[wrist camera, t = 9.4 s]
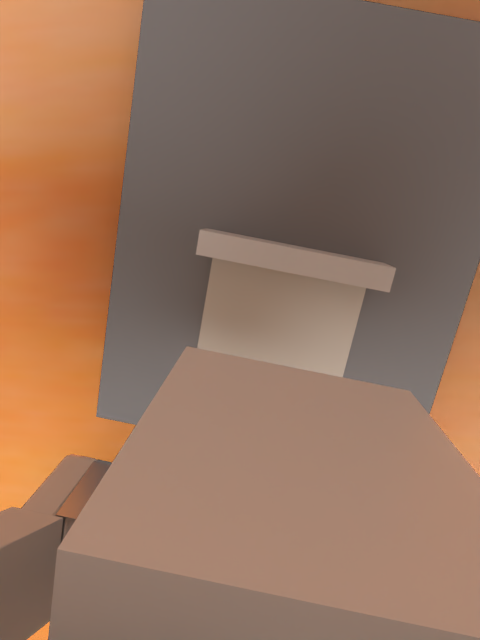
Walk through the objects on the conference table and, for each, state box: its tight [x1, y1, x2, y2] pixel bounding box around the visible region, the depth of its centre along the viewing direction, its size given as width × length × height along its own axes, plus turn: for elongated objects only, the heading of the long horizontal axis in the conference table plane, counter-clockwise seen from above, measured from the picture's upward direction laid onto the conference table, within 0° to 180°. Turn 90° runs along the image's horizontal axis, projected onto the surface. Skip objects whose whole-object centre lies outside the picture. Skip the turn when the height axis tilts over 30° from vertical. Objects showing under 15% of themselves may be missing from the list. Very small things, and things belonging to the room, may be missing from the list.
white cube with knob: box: [48, 346, 480, 640], centre depth 6 cm, size 5×5×8 cm
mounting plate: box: [96, 0, 480, 425], centre depth 19 cm, size 20×16×3 cm
